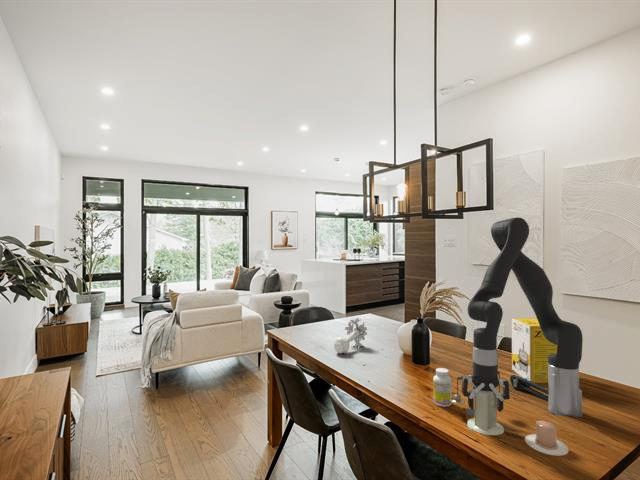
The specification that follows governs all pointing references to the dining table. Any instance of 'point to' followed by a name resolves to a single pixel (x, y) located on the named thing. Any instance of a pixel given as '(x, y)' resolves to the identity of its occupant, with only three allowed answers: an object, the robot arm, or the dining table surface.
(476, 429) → the pale white round dome
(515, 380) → the can opener
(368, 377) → the dining table surface
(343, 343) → the flower vase
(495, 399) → the skincare box
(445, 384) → the supplement bottle
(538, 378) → the packaging box
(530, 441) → the dish near
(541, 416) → the dining table surface
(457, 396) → the balance
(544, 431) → the peach domed cylinder
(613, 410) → the dining table surface
